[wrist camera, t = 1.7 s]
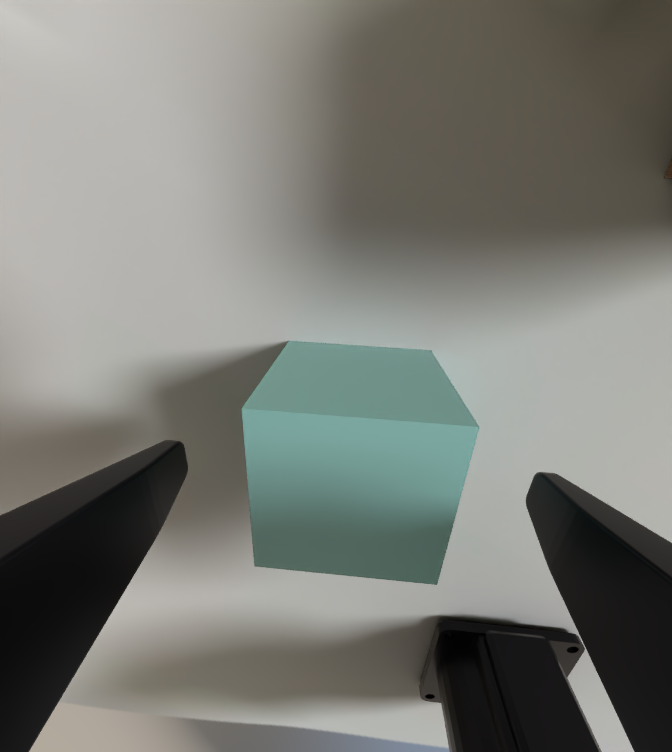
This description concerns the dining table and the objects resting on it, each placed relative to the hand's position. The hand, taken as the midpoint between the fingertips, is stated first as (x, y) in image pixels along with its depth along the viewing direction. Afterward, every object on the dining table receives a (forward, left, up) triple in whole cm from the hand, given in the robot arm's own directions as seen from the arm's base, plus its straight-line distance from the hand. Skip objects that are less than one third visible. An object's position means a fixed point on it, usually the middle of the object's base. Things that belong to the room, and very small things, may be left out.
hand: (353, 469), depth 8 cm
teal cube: (0, 0, -3) cm, 3 cm away
